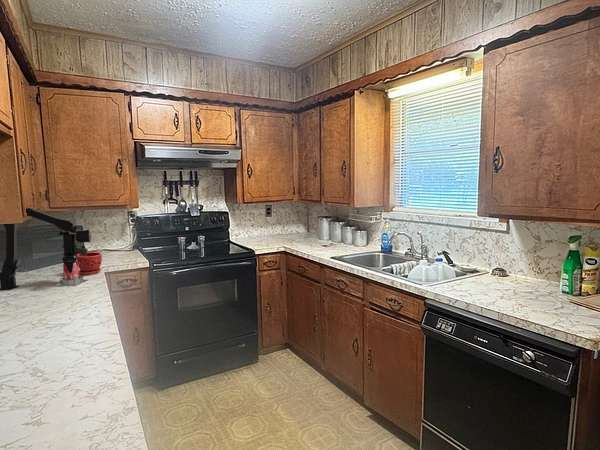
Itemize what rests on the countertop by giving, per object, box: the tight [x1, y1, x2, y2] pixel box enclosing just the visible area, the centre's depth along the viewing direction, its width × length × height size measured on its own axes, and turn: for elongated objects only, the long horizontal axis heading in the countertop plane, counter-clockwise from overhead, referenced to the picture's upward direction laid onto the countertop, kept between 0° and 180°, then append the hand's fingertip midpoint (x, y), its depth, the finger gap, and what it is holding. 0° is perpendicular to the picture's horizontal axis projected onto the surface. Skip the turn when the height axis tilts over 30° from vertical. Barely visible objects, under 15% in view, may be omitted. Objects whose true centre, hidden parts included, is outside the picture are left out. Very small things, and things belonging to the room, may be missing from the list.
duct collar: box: [55, 274, 89, 287], centre depth 201 cm, size 11×11×3 cm
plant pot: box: [76, 251, 103, 276], centre depth 222 cm, size 13×13×12 cm
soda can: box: [62, 260, 80, 280], centre depth 200 cm, size 7×7×12 cm
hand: (71, 271), depth 200 cm, fingers open, 8 cm apart
